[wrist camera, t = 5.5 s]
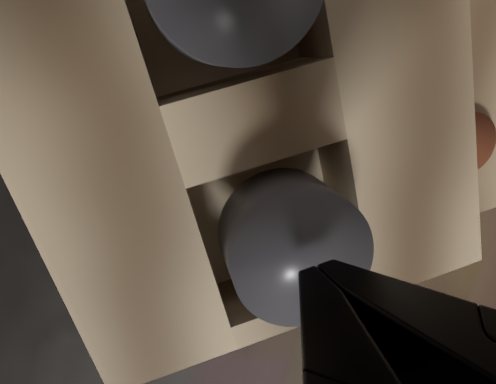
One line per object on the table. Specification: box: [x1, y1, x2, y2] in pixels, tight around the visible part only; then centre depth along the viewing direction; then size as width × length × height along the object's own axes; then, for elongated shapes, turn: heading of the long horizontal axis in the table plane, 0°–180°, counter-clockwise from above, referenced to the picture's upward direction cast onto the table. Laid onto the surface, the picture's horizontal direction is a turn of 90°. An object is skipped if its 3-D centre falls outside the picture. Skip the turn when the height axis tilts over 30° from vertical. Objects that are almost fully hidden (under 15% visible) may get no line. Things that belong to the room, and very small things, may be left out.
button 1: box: [218, 168, 374, 327], centre depth 11 cm, size 4×4×2 cm
